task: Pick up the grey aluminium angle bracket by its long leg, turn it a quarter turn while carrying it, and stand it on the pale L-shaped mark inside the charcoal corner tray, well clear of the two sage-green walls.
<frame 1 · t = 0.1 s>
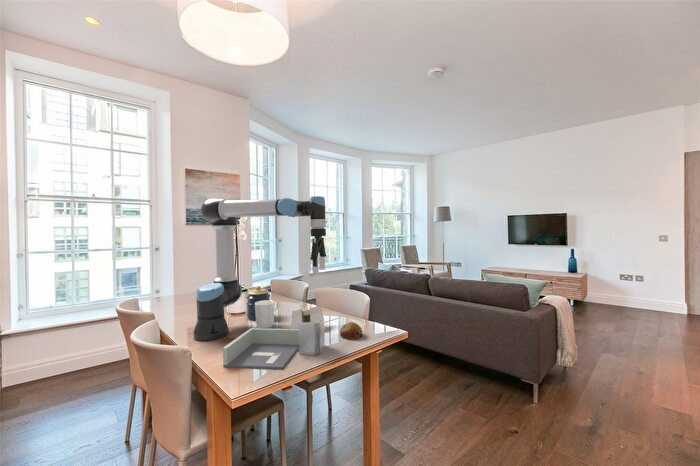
hand: (319, 271, 149), 28 cm above the table, tool pointing down, fingers open, 13 cm apart
candle holder: (265, 326, 156), on the table
canister: (259, 317, 172), on the table
bread roll: (351, 336, 138), on the table
wall: (307, 329, 150), on the table
angle bracket: (319, 355, 118), on the table
corner tray: (265, 355, 119), on the table
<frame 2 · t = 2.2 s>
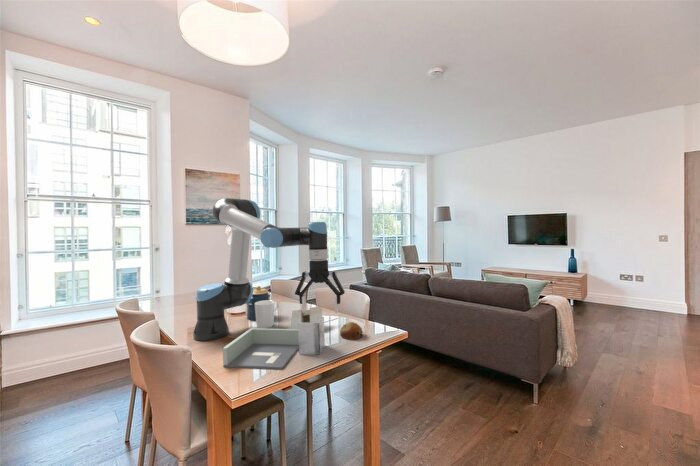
hand: (320, 311, 124), 15 cm above the table, tool pointing down, fingers open, 13 cm apart
nothing on the table moved.
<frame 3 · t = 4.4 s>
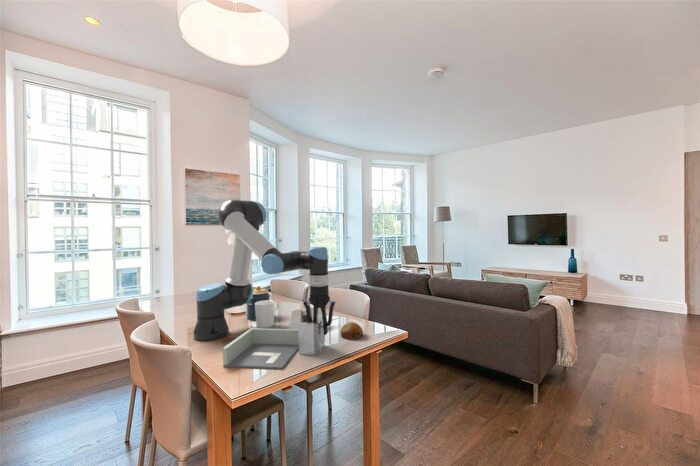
hand: (320, 342, 125), 2 cm above the table, tool pointing down, fingers closed on angle bracket, 2 cm apart
angle bracket: (319, 355, 118), on the table, touching gripper
everything else where it was.
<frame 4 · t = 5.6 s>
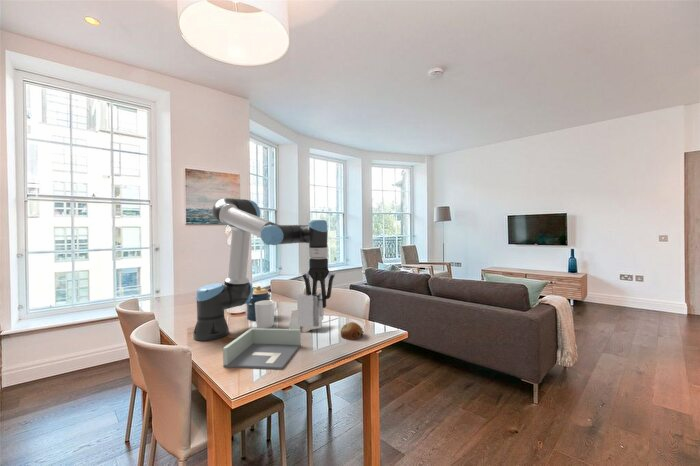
hand: (319, 315, 125), 14 cm above the table, tool pointing down, fingers closed on angle bracket, 2 cm apart
angle bracket: (317, 326, 118), point 11 cm above the table, touching gripper
everything else where it was.
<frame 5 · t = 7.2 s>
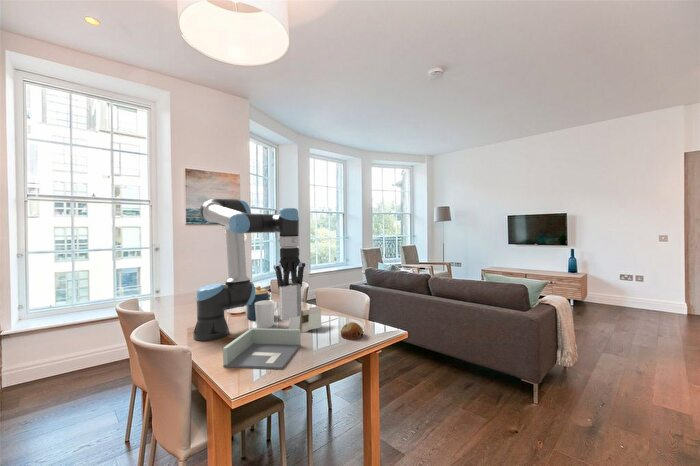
hand: (290, 306, 121), 18 cm above the table, tool pointing down, fingers closed on angle bracket, 2 cm apart
angle bracket: (301, 315, 117), point 16 cm above the table, touching gripper
everything else where it was.
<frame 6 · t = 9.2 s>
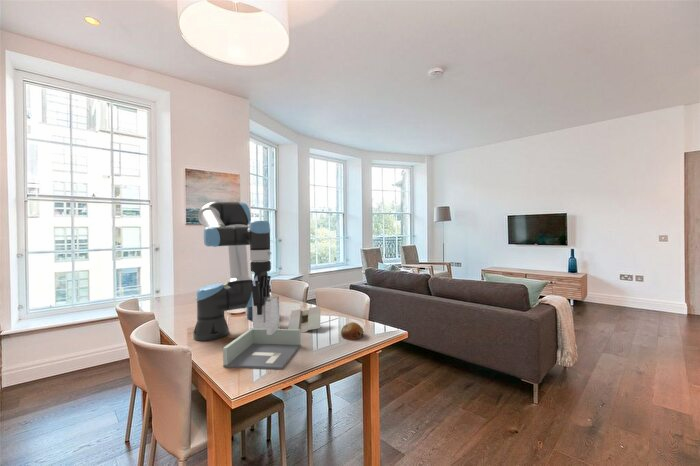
hand: (262, 321, 118), 13 cm above the table, tool pointing down, fingers closed on angle bracket, 2 cm apart
angle bracket: (279, 327, 118), point 11 cm above the table, touching gripper
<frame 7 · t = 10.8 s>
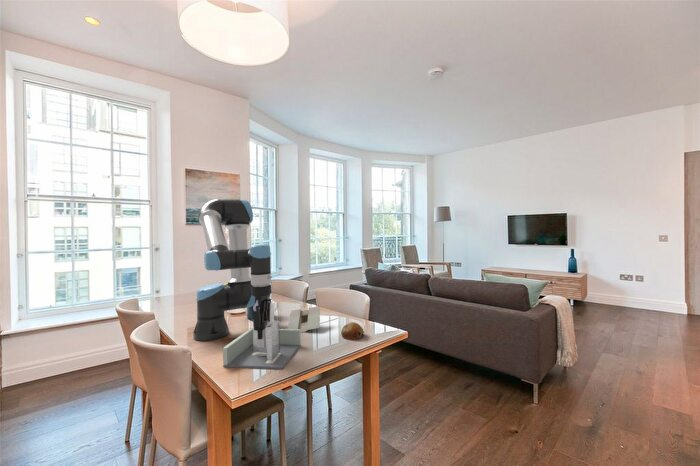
hand: (262, 345, 118), 4 cm above the table, tool pointing down, fingers closed on angle bracket, 2 cm apart
angle bracket: (280, 351, 118), point 2 cm above the table, touching gripper
when the fingers open (4 cm above the table, at t = 11.3 s): angle bracket stays where it is, resting on corner tray.
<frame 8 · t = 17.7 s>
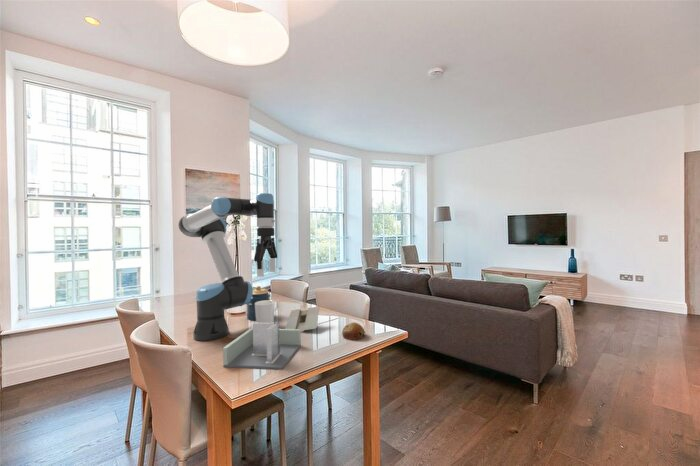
hand: (266, 274, 139), 29 cm above the table, tool pointing down, fingers open, 13 cm apart
angle bracket: (279, 353, 118), point 1 cm above the table, touching corner tray
at the end: angle bracket 0.0 cm from the target spot on the corner tray, point 0.9 cm above the corner tray's base; angle bracket tilted 0°; the gripper is holding nothing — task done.
